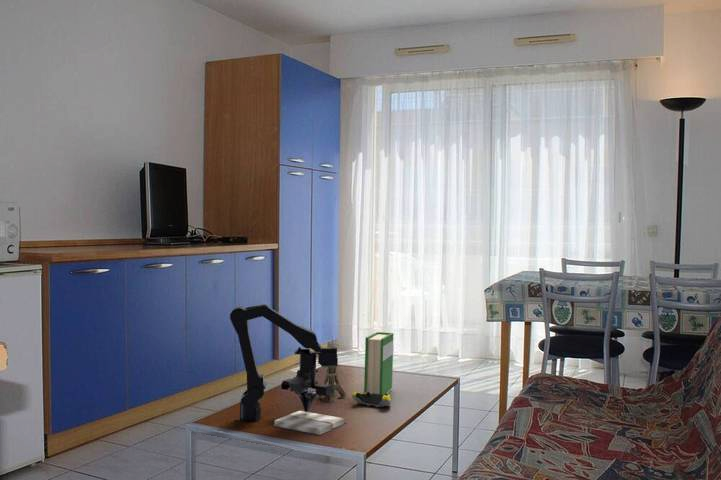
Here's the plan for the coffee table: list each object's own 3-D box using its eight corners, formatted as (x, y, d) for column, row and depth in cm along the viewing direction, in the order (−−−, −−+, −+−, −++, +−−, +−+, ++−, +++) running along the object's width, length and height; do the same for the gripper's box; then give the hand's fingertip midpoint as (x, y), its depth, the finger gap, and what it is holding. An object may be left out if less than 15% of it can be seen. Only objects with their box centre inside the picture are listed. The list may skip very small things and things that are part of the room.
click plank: (288, 420, 225) (288, 414, 225) (299, 415, 231) (299, 410, 231) (333, 428, 217) (333, 423, 217) (343, 423, 223) (344, 418, 223)
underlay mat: (272, 427, 218) (272, 425, 218) (300, 416, 233) (300, 414, 233) (320, 437, 209) (320, 435, 209) (347, 424, 224) (347, 423, 224)
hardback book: (381, 398, 262) (383, 338, 262) (363, 397, 264) (365, 337, 264) (391, 389, 279) (393, 333, 279) (375, 388, 281) (376, 332, 281)
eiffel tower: (349, 397, 263) (350, 335, 263) (334, 402, 254) (336, 338, 254) (327, 393, 269) (328, 332, 269) (312, 398, 260) (314, 335, 260)
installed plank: (274, 425, 218) (274, 420, 218) (287, 420, 225) (287, 415, 225) (320, 434, 210) (320, 429, 210) (332, 429, 216) (332, 423, 216)
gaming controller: (387, 411, 243) (396, 405, 252) (387, 396, 243) (396, 391, 252) (350, 406, 249) (360, 400, 258) (350, 392, 249) (361, 386, 258)
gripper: (272, 367, 225) (270, 412, 225) (318, 374, 216) (316, 421, 216) (290, 362, 235) (289, 406, 235) (335, 368, 226) (334, 413, 226)
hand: (306, 411), depth 228 cm, fingers closed
